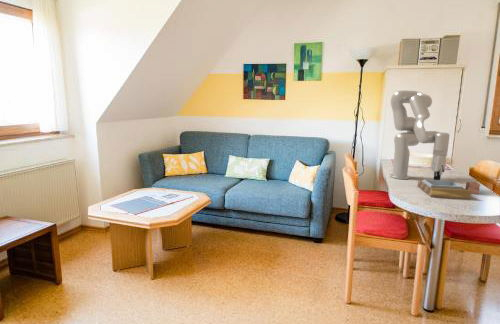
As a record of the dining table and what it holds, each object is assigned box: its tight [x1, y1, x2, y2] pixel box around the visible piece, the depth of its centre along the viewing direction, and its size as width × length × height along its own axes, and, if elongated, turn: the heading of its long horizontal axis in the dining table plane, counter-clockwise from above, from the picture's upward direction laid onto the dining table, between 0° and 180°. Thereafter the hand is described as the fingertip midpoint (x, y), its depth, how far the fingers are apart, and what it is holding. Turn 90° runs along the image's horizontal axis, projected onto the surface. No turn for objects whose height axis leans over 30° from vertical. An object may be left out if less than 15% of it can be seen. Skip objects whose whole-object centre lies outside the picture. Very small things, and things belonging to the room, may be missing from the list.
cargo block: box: [464, 181, 481, 195], centre depth 191 cm, size 5×5×6 cm
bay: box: [416, 180, 472, 200], centre depth 191 cm, size 23×20×5 cm
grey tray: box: [422, 178, 464, 190], centre depth 192 cm, size 14×17×4 cm
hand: (436, 182), depth 200 cm, fingers closed
